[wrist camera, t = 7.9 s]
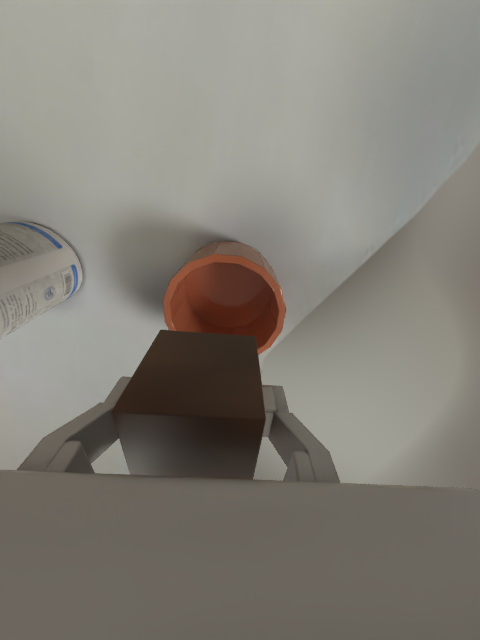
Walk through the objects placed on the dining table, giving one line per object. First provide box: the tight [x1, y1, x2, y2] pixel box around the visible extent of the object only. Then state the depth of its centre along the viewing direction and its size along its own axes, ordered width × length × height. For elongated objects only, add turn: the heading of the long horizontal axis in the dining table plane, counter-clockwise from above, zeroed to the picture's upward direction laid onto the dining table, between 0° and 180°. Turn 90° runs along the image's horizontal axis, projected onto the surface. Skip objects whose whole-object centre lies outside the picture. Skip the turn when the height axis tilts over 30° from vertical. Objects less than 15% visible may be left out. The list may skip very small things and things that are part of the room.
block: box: [112, 330, 266, 480], centre depth 10 cm, size 5×5×5 cm
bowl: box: [163, 241, 286, 355], centre depth 26 cm, size 12×12×8 cm
